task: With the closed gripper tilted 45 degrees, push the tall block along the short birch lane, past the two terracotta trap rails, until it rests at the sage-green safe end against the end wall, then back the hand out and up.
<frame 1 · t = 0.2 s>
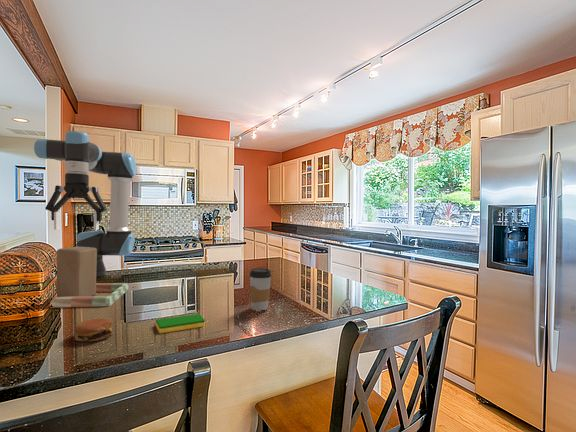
hand: (76, 229, 123), 28 cm above the table, tool pointing down, fingers open, 13 cm apart
block: (76, 298, 129), on the table
burger: (94, 337, 93), on the table
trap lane: (92, 297, 130), on the table
dish sponge: (180, 327, 104), on the table
coffee cup: (259, 309, 124), on the table
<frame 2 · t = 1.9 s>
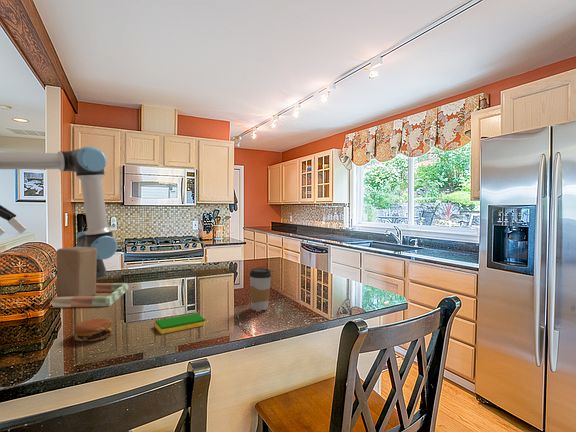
hand: (13, 232, 124), 26 cm above the table, tool tilted 45°, fingers open, 13 cm apart
nothing on the table moved.
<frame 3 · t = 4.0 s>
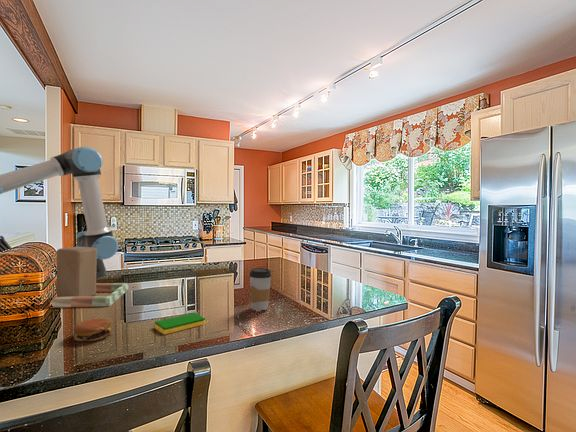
hand: (22, 270, 124), 11 cm above the table, tool tilted 45°, fingers closed
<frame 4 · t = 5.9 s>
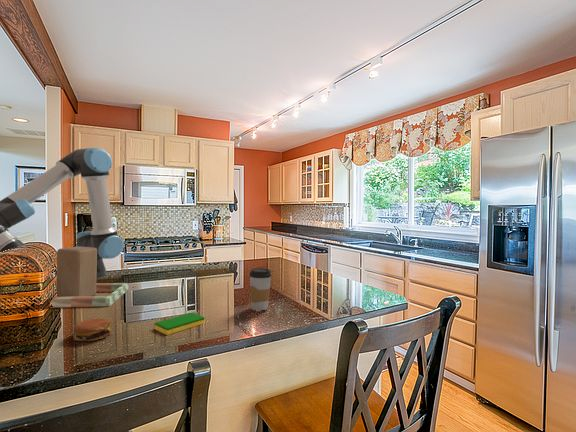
hand: (56, 288, 127), 4 cm above the table, tool tilted 45°, fingers closed
block: (76, 298, 129), on the table, touching gripper
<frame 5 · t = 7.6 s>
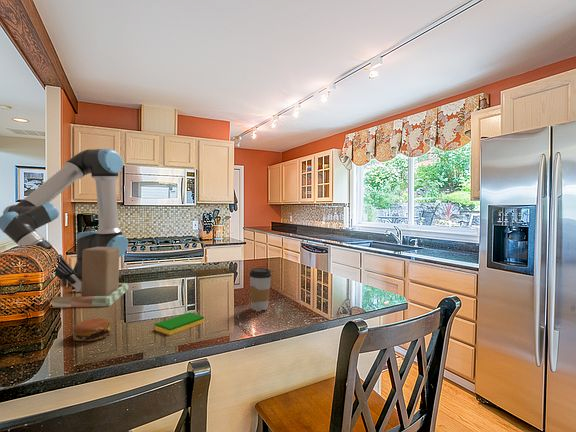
hand: (82, 288, 129), 4 cm above the table, tool tilted 45°, fingers closed
block: (100, 297, 131), on the table, touching gripper, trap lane
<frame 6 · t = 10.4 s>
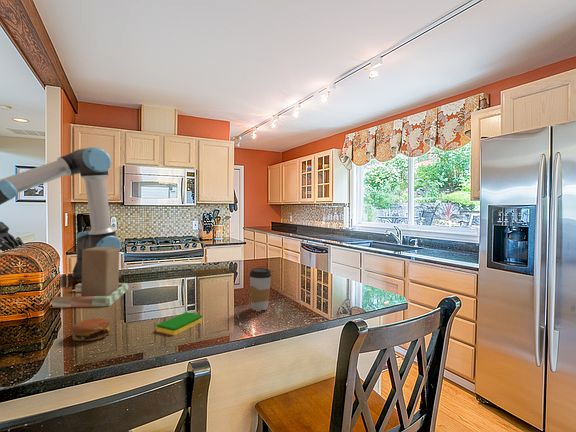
hand: (41, 270, 126), 11 cm above the table, tool tilted 45°, fingers closed
block: (100, 298, 131), on the table
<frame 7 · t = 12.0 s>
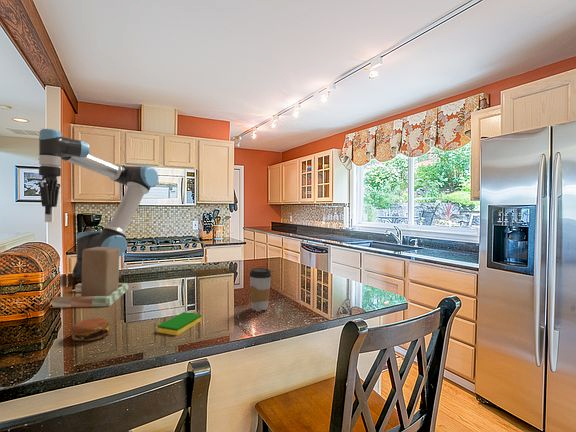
hand: (49, 222, 138), 29 cm above the table, tool pointing down, fingers closed
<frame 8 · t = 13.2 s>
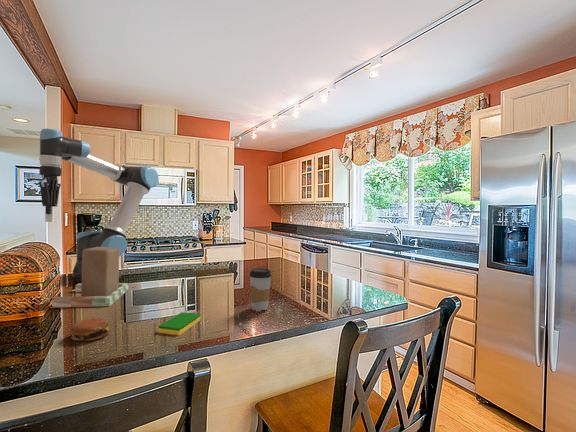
hand: (49, 221, 138), 29 cm above the table, tool pointing down, fingers closed
at the end: block 0.8 cm from the target spot, on the table; block tilted 0° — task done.
